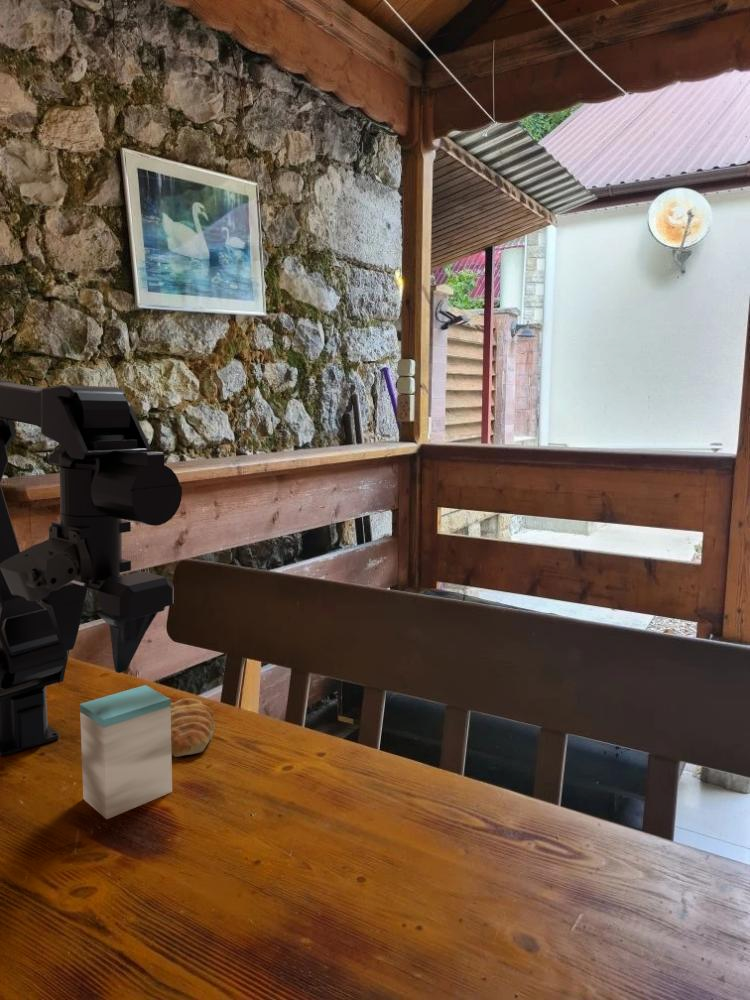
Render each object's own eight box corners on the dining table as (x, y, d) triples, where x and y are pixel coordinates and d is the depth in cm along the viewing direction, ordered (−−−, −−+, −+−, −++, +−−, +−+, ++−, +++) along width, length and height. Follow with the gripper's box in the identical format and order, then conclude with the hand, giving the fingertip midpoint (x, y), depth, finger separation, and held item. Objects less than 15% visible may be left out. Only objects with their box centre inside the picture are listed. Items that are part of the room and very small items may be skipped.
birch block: (83, 799, 72) (79, 703, 70) (147, 774, 77) (145, 684, 75) (106, 819, 68) (103, 719, 67) (172, 791, 73) (170, 698, 72)
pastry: (220, 756, 81) (219, 724, 81) (158, 765, 79) (156, 732, 79) (211, 721, 90) (211, 692, 89) (155, 729, 88) (154, 699, 87)
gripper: (-39, 508, 70) (-32, 660, 73) (71, 536, 60) (75, 712, 62) (66, 498, 79) (68, 633, 82) (177, 520, 69) (177, 674, 71)
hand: (93, 660), depth 74 cm, fingers open, 9 cm apart
